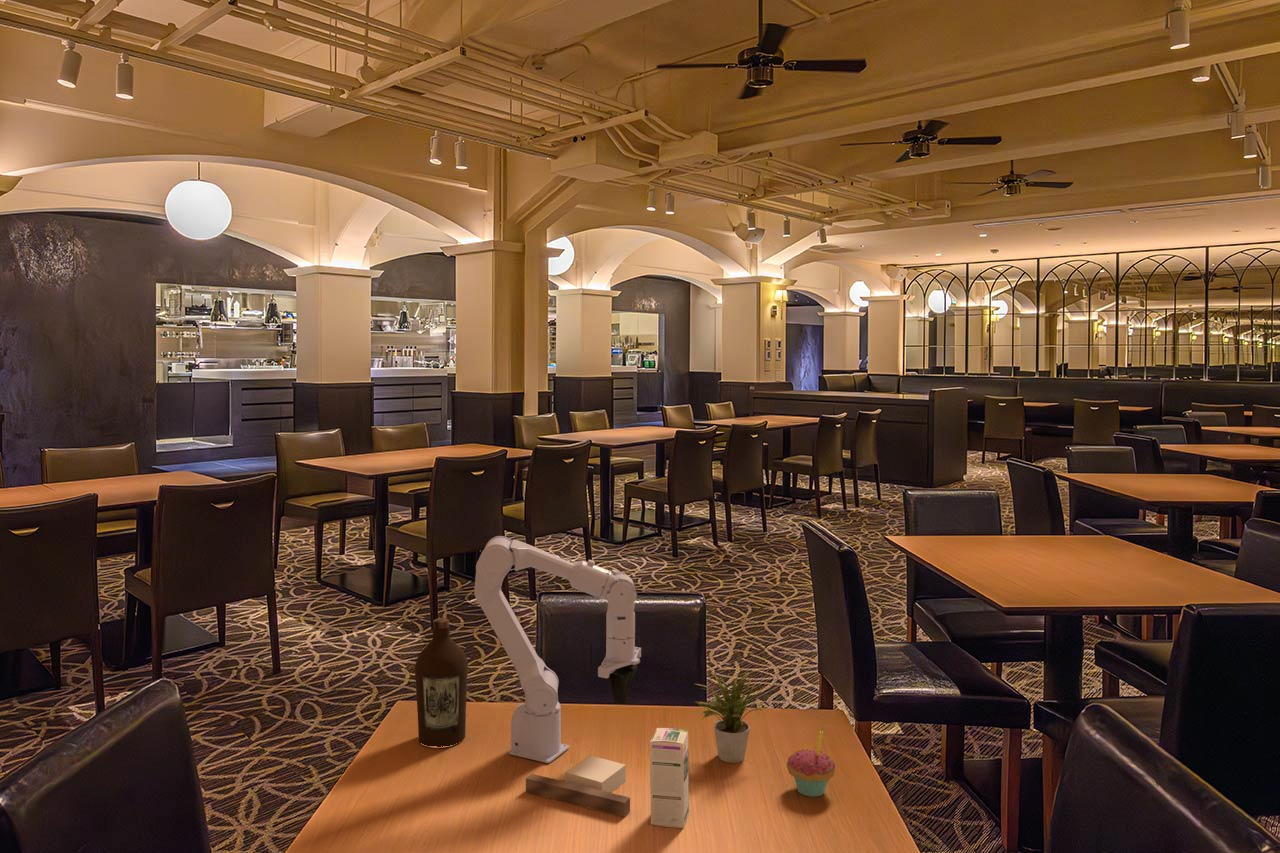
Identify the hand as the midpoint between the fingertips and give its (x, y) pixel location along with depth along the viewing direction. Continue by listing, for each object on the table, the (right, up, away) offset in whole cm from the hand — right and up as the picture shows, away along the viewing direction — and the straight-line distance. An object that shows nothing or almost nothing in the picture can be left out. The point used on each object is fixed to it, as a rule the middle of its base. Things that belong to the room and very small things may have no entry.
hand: (620, 702), depth 166 cm
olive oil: (-37, -10, +5) cm, 39 cm away
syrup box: (+9, -11, -26) cm, 30 cm away
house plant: (+22, -10, -1) cm, 24 cm away
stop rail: (-7, -11, -20) cm, 24 cm away
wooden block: (-4, -11, -14) cm, 18 cm away
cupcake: (+35, -11, -16) cm, 40 cm away
